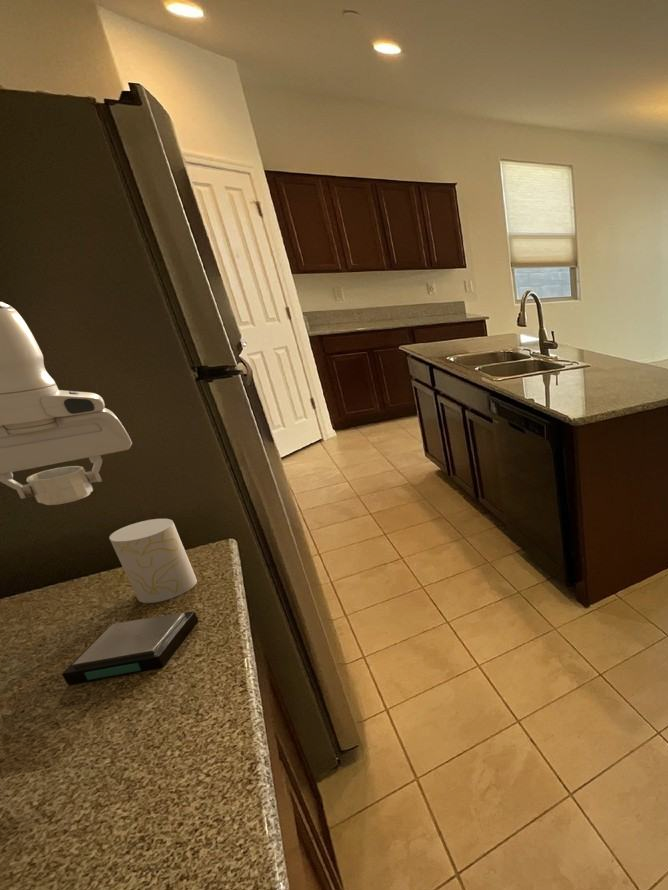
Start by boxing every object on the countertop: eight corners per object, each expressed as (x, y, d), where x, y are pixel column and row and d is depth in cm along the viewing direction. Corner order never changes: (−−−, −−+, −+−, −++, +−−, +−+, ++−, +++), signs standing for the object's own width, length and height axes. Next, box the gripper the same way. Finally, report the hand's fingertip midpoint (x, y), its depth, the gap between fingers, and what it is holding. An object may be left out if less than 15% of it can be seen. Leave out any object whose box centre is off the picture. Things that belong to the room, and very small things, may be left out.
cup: (137, 608, 87) (107, 546, 83) (137, 588, 93) (110, 528, 88) (198, 589, 92) (174, 530, 87) (195, 571, 98) (172, 514, 93)
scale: (66, 686, 71) (58, 671, 70) (115, 634, 81) (108, 621, 80) (162, 668, 74) (156, 654, 73) (198, 621, 84) (193, 607, 83)
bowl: (28, 509, 83) (15, 483, 81) (56, 493, 88) (44, 468, 87) (79, 503, 84) (66, 477, 83) (103, 488, 90) (92, 463, 89)
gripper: (-88, 426, 71) (-36, 516, 77) (114, 397, 85) (146, 475, 91) (-83, 418, 75) (-33, 504, 81) (110, 392, 89) (141, 467, 95)
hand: (63, 488), depth 86 cm, fingers closed on bowl, 6 cm apart
